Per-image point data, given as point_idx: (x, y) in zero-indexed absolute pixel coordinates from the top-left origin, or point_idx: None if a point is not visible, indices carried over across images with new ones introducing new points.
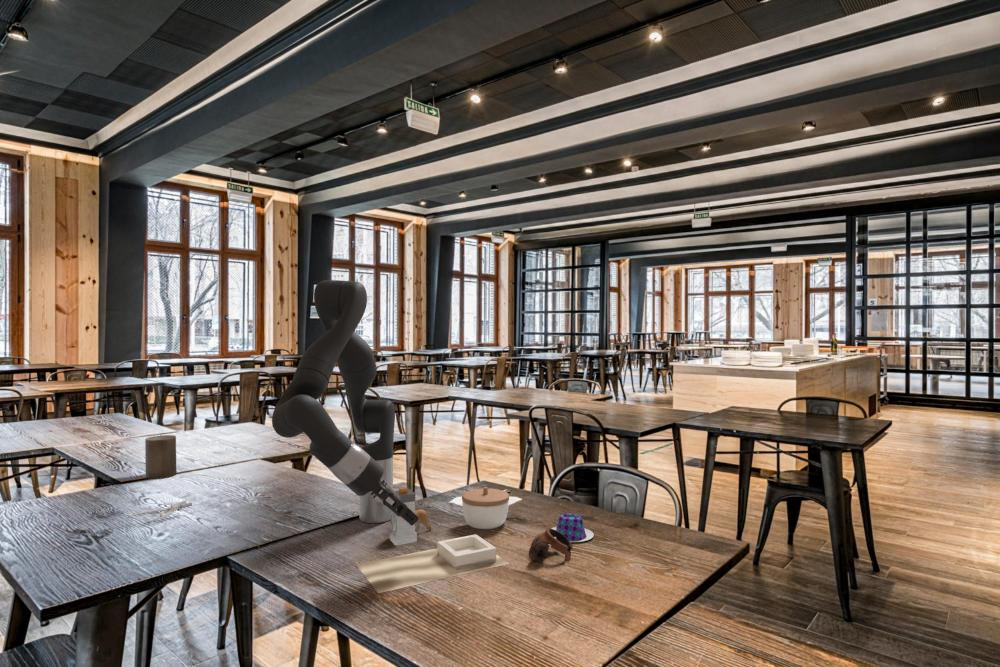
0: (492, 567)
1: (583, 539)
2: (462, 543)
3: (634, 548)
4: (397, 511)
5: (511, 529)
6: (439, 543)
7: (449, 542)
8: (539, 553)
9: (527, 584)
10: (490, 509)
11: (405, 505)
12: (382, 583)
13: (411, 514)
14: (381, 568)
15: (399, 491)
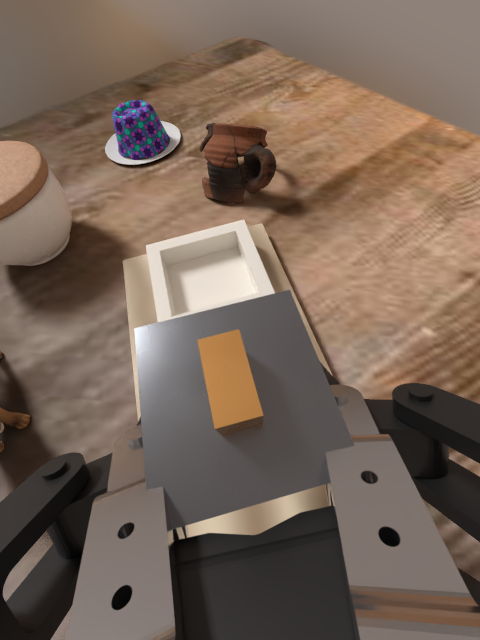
0: (274, 250)
1: (168, 134)
2: (167, 281)
3: (221, 99)
4: (440, 476)
5: (73, 206)
6: None
7: (170, 305)
8: (257, 171)
9: (325, 218)
10: (50, 191)
11: (430, 397)
12: None
13: (328, 374)
14: (221, 523)
15: (231, 431)
